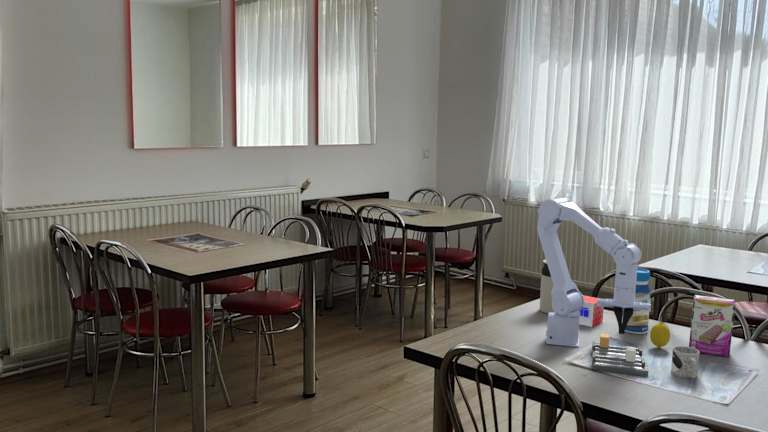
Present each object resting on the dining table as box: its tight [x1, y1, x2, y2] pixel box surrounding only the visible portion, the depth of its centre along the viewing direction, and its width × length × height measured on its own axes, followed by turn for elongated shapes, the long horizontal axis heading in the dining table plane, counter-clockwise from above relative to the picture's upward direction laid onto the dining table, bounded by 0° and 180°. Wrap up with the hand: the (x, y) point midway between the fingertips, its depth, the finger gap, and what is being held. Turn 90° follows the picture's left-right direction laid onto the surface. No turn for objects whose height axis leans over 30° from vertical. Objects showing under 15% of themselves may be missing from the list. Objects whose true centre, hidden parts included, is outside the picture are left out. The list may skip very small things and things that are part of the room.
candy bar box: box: [688, 294, 736, 358], centre depth 208 cm, size 11×5×16 cm, turn 65°
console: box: [591, 341, 649, 377], centre depth 200 cm, size 14×20×3 cm
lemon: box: [649, 322, 671, 349], centre depth 211 cm, size 6×6×8 cm
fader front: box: [625, 345, 636, 363], centre depth 194 cm, size 2×4×4 cm, turn 164°
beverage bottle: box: [622, 267, 652, 335], centre depth 227 cm, size 8×8×20 cm
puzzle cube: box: [579, 294, 605, 328], centre depth 237 cm, size 8×8×8 cm
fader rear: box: [599, 333, 610, 348], centre depth 205 cm, size 2×4×4 cm, turn 164°
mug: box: [670, 345, 701, 379], centre depth 189 cm, size 10×7×7 cm, turn 178°
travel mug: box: [539, 259, 555, 314], centre depth 248 cm, size 8×8×18 cm
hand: (621, 332), depth 204 cm, fingers closed
